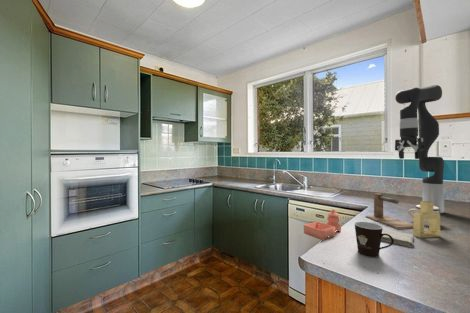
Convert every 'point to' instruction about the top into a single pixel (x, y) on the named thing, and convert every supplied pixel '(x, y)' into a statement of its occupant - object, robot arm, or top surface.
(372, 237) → the coffee mug
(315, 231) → the pottery
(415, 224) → the brass link
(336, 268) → the top surface
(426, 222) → the teacup with lid
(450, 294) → the top surface
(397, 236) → the washcloth
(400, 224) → the walnut stand
